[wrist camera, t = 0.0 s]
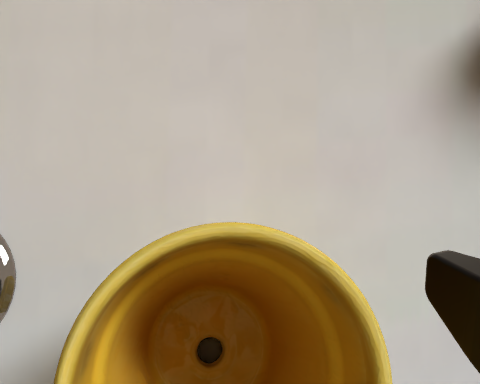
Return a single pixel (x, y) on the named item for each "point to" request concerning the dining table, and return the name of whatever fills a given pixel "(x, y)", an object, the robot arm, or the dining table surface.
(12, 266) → the wine glass
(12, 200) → the dining table surface
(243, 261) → the plant pot
